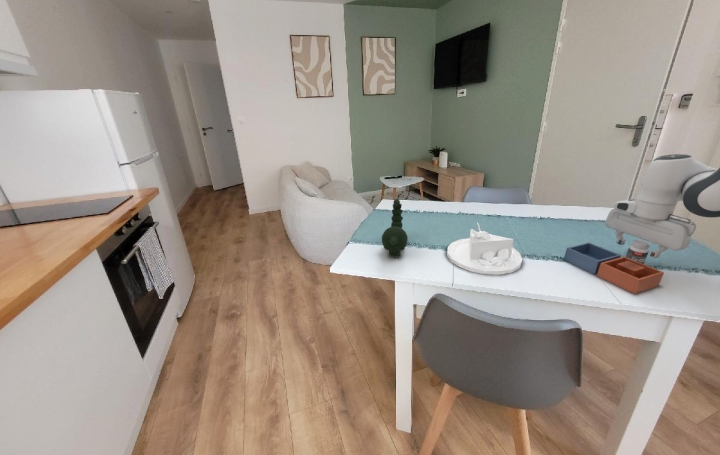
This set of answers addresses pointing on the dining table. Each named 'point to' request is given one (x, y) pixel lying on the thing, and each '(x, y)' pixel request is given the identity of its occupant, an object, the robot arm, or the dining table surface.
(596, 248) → the blue bin
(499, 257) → the dish
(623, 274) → the terracotta bin
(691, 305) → the dining table surface
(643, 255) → the pill bottle
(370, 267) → the dining table surface
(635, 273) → the block
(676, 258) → the dining table surface
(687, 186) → the robot arm
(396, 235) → the green topiary ornament
